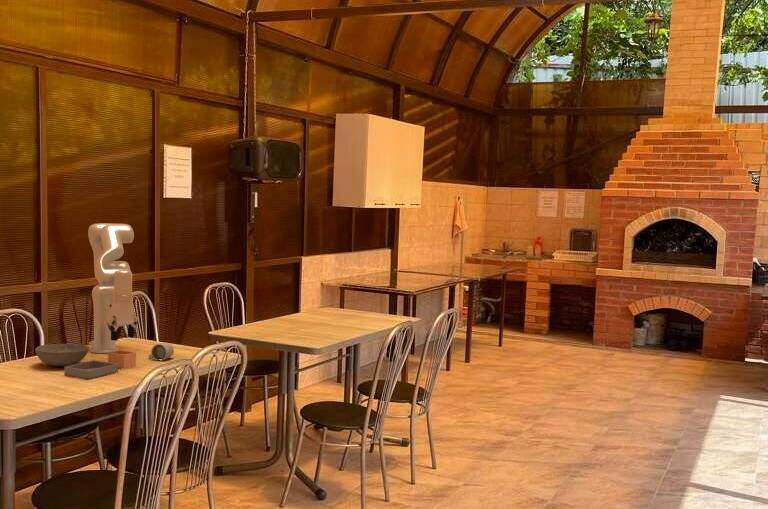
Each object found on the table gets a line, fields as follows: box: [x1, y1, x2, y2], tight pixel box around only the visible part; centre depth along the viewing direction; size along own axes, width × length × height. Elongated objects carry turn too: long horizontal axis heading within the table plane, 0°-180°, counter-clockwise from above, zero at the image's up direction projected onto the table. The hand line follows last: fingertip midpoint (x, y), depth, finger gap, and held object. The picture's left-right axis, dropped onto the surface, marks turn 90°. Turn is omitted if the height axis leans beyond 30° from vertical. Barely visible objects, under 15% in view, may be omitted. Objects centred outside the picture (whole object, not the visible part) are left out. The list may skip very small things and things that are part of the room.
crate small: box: [107, 349, 137, 370], centre depth 321 cm, size 9×7×6 cm
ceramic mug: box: [148, 342, 175, 362], centre depth 338 cm, size 11×8×8 cm
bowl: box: [34, 343, 90, 367], centre depth 319 cm, size 21×21×8 cm
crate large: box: [63, 359, 119, 380], centre depth 305 cm, size 13×15×4 cm
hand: (122, 338), depth 320 cm, fingers open, 9 cm apart
